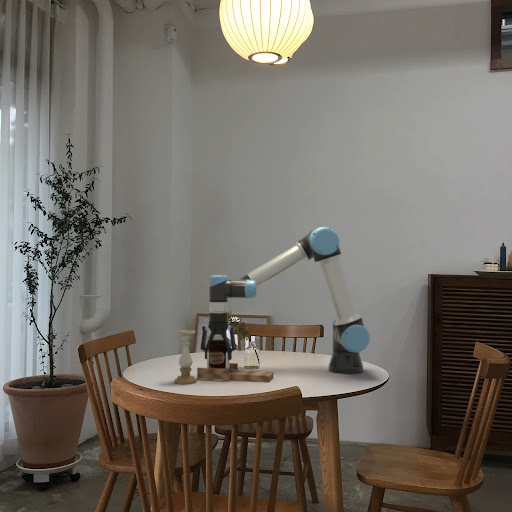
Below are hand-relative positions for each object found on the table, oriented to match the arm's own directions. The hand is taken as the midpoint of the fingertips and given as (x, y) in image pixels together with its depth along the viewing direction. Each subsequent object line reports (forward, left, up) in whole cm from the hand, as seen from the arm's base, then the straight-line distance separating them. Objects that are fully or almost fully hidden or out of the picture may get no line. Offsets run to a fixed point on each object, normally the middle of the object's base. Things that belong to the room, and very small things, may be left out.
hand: (218, 367), depth 239 cm
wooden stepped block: (-8, 0, -4) cm, 9 cm away
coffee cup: (0, 0, -2) cm, 2 cm away
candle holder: (+10, +13, -4) cm, 17 cm away
